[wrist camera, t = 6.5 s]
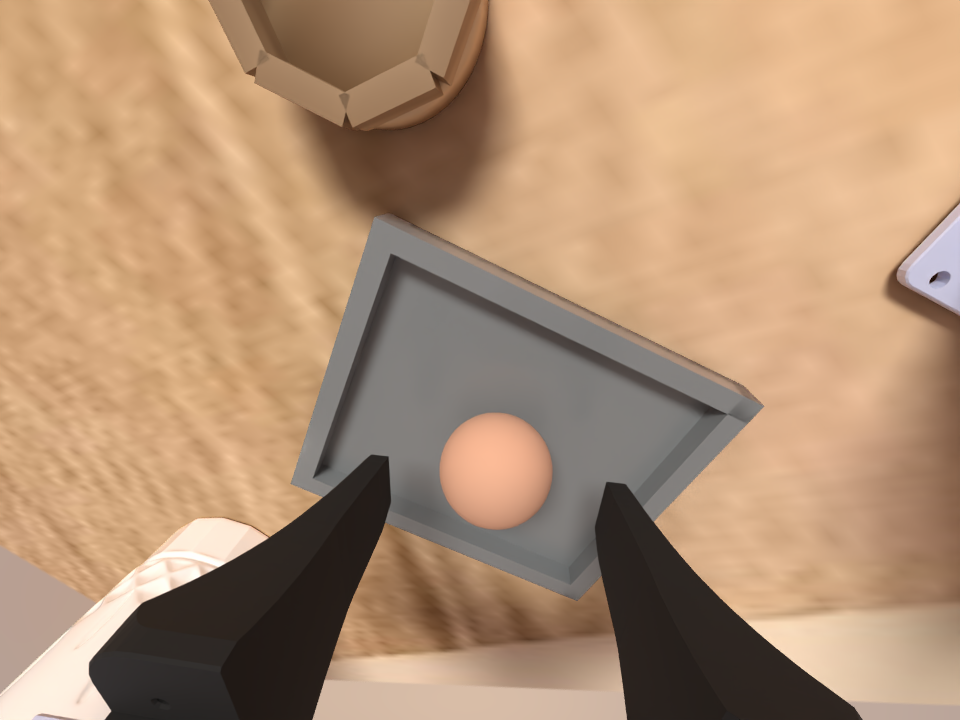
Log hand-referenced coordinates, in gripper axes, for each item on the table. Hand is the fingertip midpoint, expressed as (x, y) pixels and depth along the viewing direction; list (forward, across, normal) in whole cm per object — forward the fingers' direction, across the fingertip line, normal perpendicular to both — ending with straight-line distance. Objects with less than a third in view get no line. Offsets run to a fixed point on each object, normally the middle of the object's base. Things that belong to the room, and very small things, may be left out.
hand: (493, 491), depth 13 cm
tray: (+4, 0, 0) cm, 4 cm away
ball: (+3, 0, 0) cm, 3 cm away
